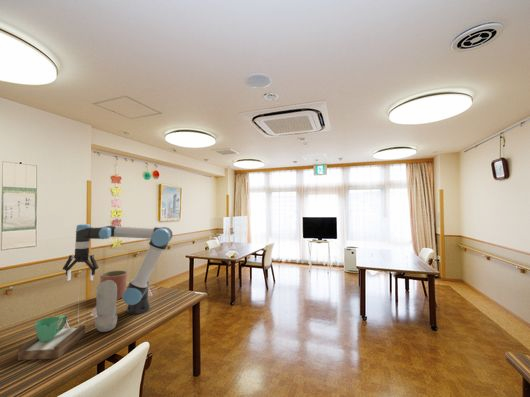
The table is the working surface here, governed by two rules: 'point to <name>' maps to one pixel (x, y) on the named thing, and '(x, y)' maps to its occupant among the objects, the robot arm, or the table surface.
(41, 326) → the mug
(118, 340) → the table surface
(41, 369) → the table surface
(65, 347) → the brown rectangular tray
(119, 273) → the planter
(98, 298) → the sculpture
